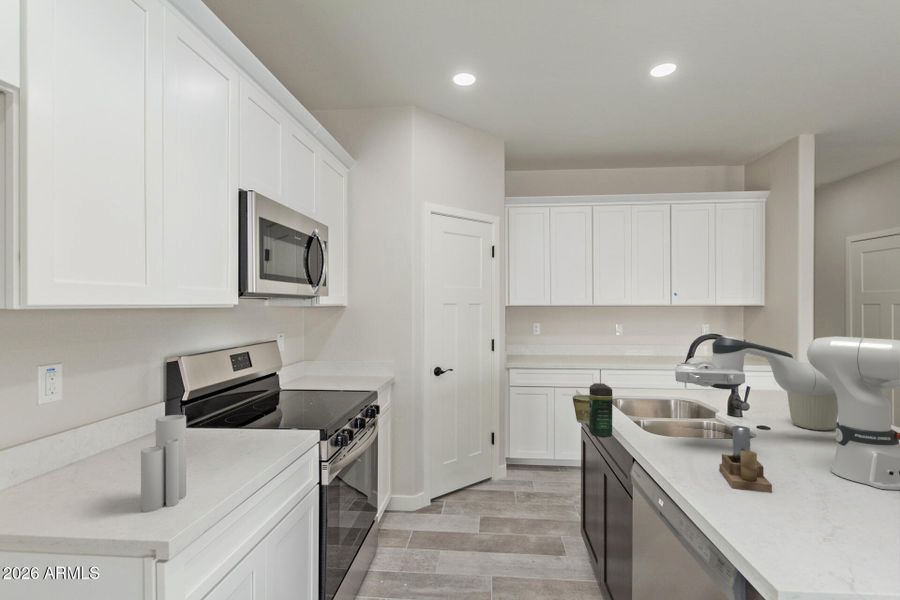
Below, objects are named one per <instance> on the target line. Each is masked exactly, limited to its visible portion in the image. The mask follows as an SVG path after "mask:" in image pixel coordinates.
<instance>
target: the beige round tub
mask: <svg viewBox="0 0 900 600" xmlns="http://www.w3.org/2000/svg"><path fill="white" fill-rule="evenodd" d="M786 392H787V391H786ZM787 399H788V400H787V401H788V409H789V414H790V415H789V416H790V419H791V421H792V423H793V424H794V425H795V426H797V427H798V428H799V427H800V428H804V429H807V430H812V431H831V430H833V429H835V428H836V423H837V422H838V404H837V399H836V394H828V395H802V394H795V393H790V392H787Z"/></svg>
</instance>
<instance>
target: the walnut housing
mask: <svg viewBox="0 0 900 600" xmlns="http://www.w3.org/2000/svg"><path fill="white" fill-rule="evenodd" d="M718 467H719V469H718V470H719V472H720V473H721V474H722V476H723V477H724V479H725V481H726V482H727V483H728V484H729V486H730V487H731V488H732V489H739V490H746V491H756V492H762V493H764V492H765V493H773V484H772V483H771V482H770V481H769V480H768V479H767V478H766V477H765V476H764V469H765V468H764V466H763V464H762V463H760V462H759V460H758V454H757V452H755V451H751V450H750V451H741V463H733V454H725V453H722V454H721V463H719V466H718Z"/></svg>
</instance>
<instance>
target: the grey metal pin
mask: <svg viewBox="0 0 900 600" xmlns="http://www.w3.org/2000/svg"><path fill="white" fill-rule="evenodd" d="M750 430H751V429H750V427H747V426H744V425H733V426H732V455H733V463H741V451H751V431H750Z"/></svg>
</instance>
